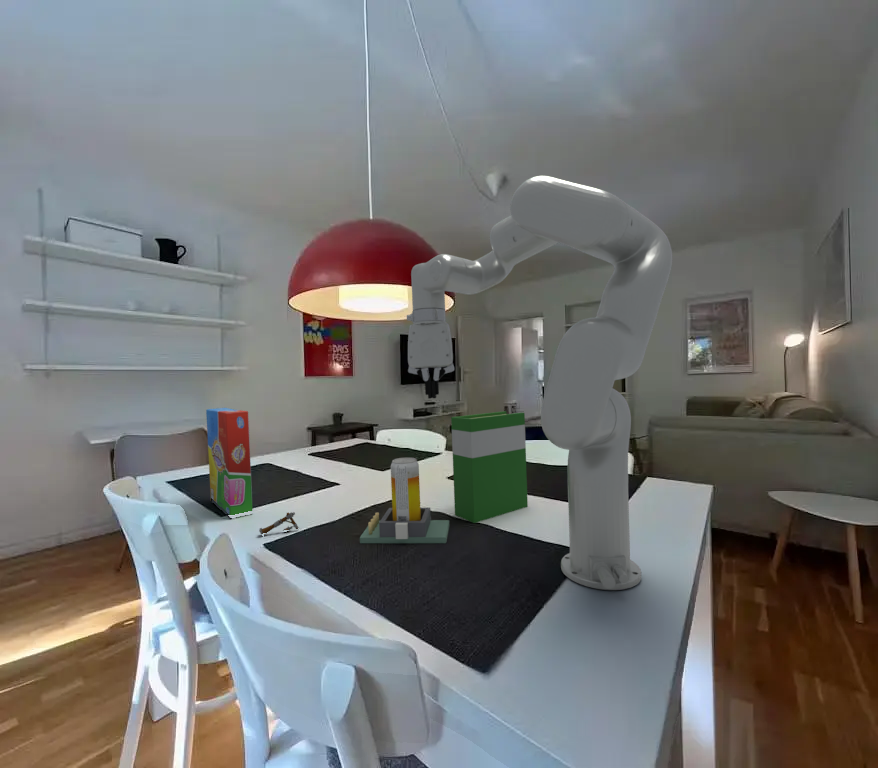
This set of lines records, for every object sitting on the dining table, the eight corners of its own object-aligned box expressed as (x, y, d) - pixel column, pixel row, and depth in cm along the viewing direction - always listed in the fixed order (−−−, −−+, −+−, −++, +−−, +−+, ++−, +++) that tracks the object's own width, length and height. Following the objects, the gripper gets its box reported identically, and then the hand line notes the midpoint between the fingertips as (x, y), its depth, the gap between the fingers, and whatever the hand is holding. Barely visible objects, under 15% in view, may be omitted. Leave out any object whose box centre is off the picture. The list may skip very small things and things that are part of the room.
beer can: (422, 523, 93) (420, 456, 92) (419, 533, 87) (416, 462, 86) (396, 523, 93) (393, 457, 93) (390, 533, 87) (387, 463, 87)
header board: (445, 544, 84) (445, 524, 84) (358, 544, 85) (357, 524, 85) (449, 525, 94) (448, 507, 94) (372, 525, 96) (371, 507, 96)
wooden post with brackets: (302, 527, 94) (293, 510, 94) (268, 547, 92) (258, 530, 91) (302, 525, 96) (293, 508, 95) (269, 544, 94) (259, 527, 93)
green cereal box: (507, 500, 111) (503, 411, 111) (527, 506, 105) (524, 412, 105) (454, 514, 101) (451, 417, 101) (474, 523, 95) (470, 419, 95)
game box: (210, 503, 119) (205, 409, 119) (230, 498, 123) (226, 407, 122) (231, 520, 104) (225, 412, 103) (253, 514, 107) (248, 410, 107)
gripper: (394, 318, 93) (397, 400, 93) (460, 314, 91) (464, 398, 92) (400, 322, 100) (403, 398, 100) (462, 319, 99) (465, 396, 99)
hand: (432, 397), depth 96 cm, fingers closed
